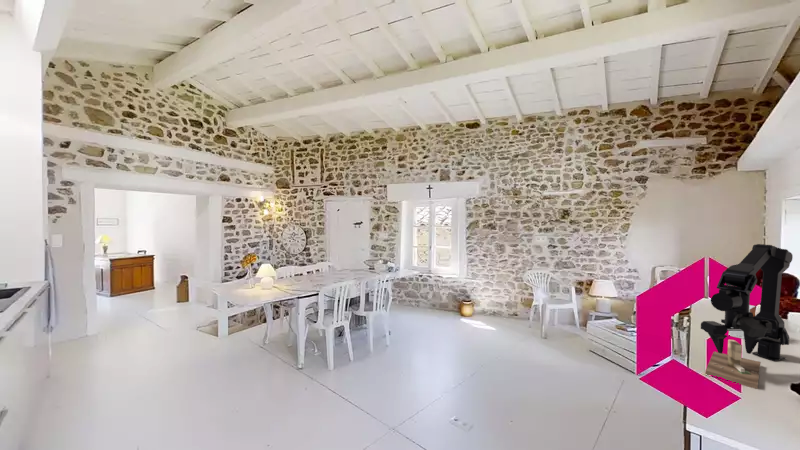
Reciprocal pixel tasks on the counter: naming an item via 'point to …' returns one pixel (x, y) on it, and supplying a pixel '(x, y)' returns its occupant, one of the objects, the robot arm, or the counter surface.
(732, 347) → the beige wooden angled piece
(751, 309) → the small box
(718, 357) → the board
